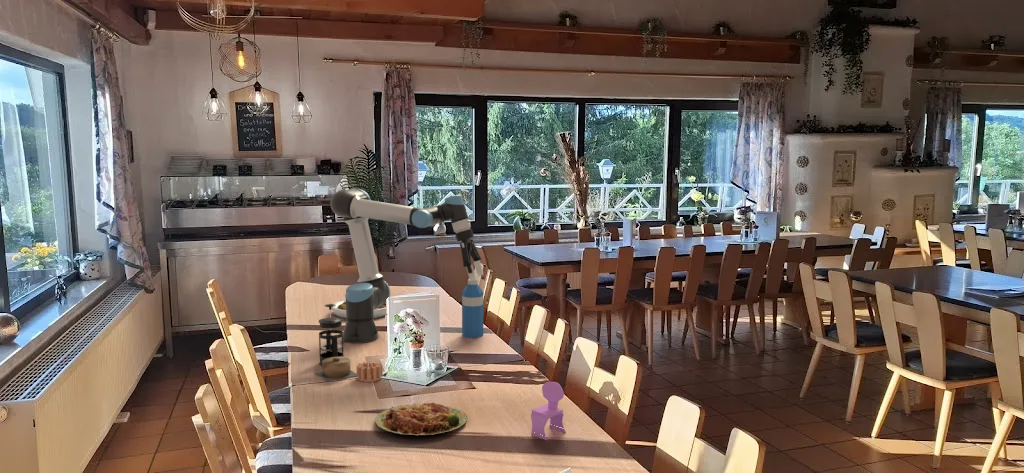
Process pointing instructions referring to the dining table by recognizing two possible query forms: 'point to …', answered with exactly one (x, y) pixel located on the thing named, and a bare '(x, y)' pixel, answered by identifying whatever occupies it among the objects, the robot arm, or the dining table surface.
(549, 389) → the toy chair
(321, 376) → the mat
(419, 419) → the rice dish
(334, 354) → the french press
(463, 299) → the water bottle
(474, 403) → the dining table surface
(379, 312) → the bowl
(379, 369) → the orange ridged cylinder
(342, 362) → the tan squat cylinder
